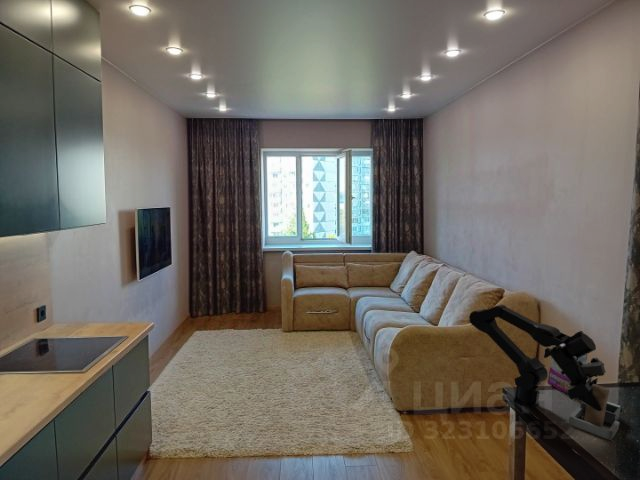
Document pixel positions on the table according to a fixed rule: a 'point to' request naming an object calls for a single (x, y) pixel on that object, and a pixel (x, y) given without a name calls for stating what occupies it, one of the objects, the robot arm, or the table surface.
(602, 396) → the walnut block
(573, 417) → the grey shallow tray
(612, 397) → the table surface
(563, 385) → the candy bar box
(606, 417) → the trap bin
